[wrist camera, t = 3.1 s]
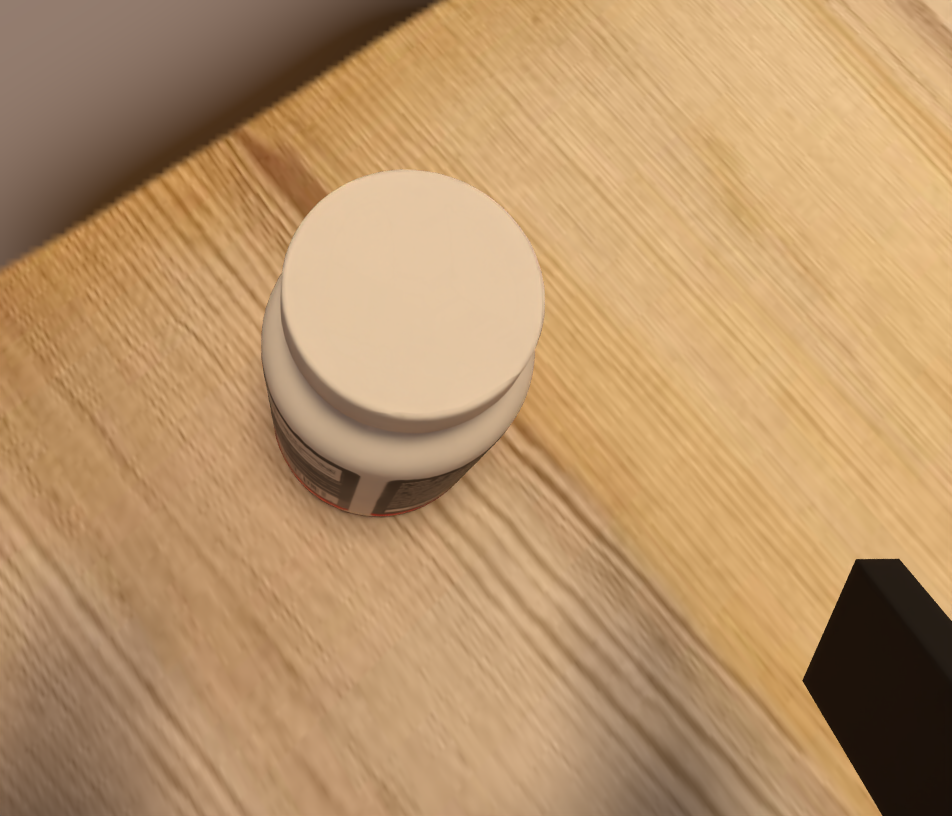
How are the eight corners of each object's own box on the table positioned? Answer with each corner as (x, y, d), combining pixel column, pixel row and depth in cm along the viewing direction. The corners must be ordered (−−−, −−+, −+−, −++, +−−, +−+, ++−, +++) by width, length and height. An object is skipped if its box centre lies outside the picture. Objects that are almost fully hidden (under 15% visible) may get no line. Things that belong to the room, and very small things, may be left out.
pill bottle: (483, 338, 26) (588, 172, 16) (467, 529, 24) (571, 469, 15) (287, 310, 25) (277, 116, 15) (258, 507, 23) (226, 427, 14)
